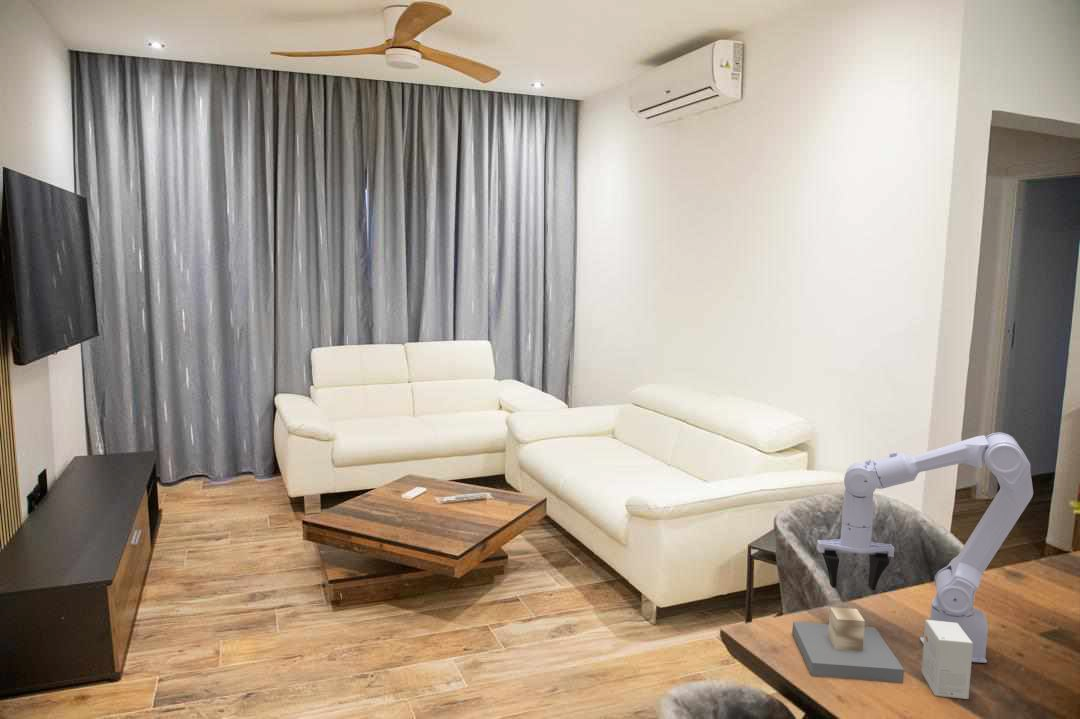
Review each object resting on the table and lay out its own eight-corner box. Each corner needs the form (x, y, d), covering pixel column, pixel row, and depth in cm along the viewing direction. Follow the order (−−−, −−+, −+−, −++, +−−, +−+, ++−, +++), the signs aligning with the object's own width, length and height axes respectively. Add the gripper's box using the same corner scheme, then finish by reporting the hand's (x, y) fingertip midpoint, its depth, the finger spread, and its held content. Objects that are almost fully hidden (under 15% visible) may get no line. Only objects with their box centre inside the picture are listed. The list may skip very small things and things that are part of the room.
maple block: (854, 638, 146) (856, 608, 145) (862, 651, 141) (864, 621, 140) (827, 636, 146) (830, 607, 146) (835, 649, 141) (837, 619, 141)
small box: (968, 700, 130) (974, 643, 128) (933, 696, 131) (939, 639, 130) (953, 676, 138) (958, 621, 136) (920, 672, 139) (925, 618, 137)
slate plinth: (873, 639, 151) (874, 627, 150) (903, 682, 135) (904, 669, 135) (792, 633, 152) (793, 621, 152) (811, 675, 137) (812, 662, 136)
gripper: (887, 518, 154) (882, 581, 156) (815, 514, 156) (810, 576, 158) (899, 530, 147) (894, 595, 149) (823, 526, 149) (819, 590, 151)
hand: (852, 587), depth 153 cm, fingers open, 7 cm apart
